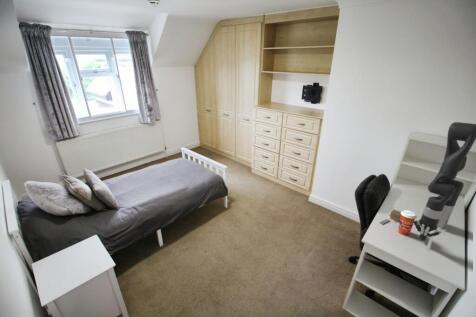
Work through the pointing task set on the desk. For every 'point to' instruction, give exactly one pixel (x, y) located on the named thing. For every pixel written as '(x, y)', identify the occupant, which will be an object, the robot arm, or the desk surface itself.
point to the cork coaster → (392, 219)
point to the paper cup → (406, 222)
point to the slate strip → (384, 221)
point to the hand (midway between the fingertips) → (422, 239)
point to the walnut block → (395, 215)
